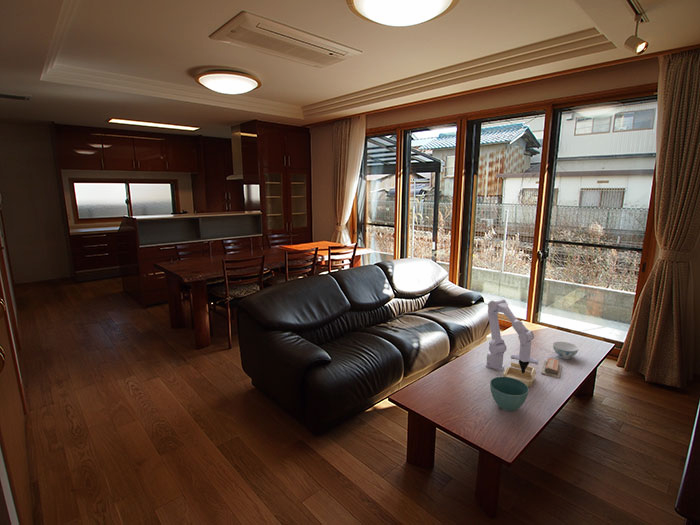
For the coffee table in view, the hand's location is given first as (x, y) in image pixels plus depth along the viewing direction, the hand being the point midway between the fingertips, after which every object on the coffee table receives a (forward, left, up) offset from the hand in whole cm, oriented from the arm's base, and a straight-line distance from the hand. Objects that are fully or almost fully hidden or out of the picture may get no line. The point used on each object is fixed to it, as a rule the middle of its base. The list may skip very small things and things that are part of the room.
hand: (523, 372), depth 215 cm
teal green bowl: (-2, -34, -5) cm, 34 cm away
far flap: (+6, 0, -1) cm, 6 cm away
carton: (-2, 0, -5) cm, 5 cm away
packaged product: (+13, +23, -6) cm, 27 cm away
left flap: (-2, +7, -1) cm, 7 cm away
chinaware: (+18, +48, -5) cm, 52 cm away
